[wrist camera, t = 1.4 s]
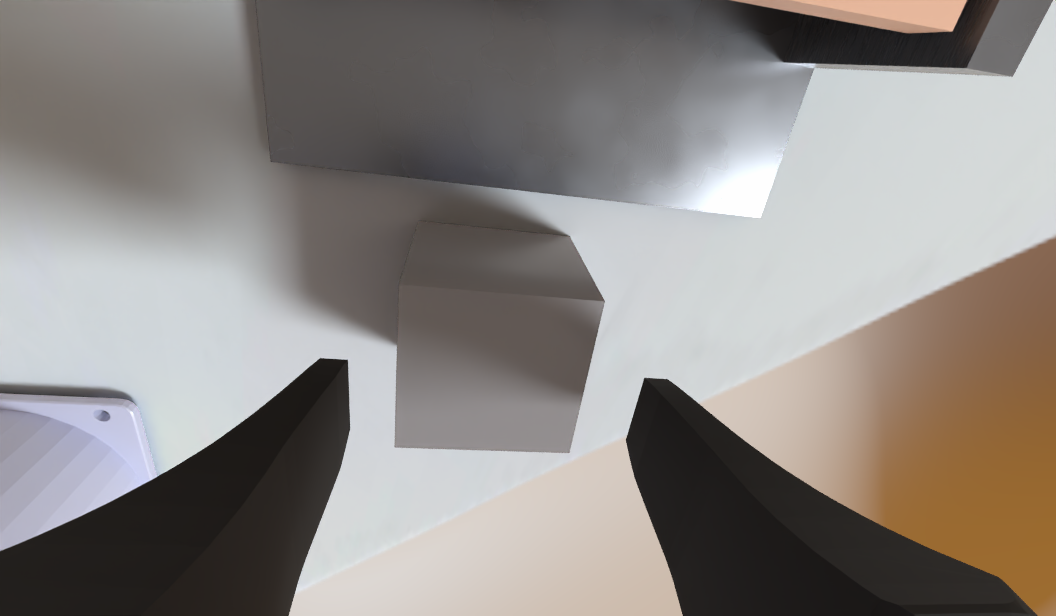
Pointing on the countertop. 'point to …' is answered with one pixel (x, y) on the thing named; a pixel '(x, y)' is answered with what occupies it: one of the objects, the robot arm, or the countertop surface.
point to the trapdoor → (878, 12)
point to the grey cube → (492, 339)
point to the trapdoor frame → (583, 88)
